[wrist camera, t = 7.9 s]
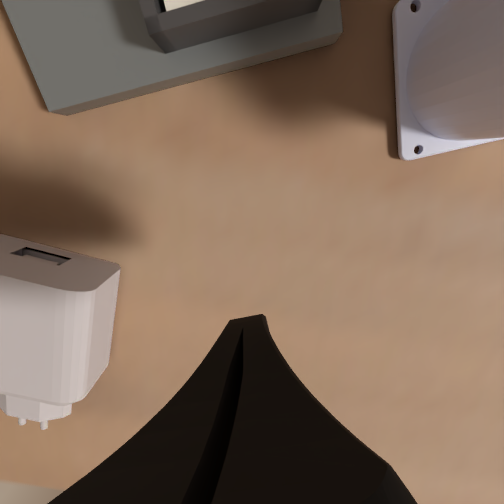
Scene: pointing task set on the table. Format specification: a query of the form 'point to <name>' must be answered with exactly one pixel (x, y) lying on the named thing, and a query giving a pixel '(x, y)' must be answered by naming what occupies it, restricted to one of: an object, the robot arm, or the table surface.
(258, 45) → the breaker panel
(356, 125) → the table surface
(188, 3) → the on button
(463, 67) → the robot arm
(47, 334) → the charger
